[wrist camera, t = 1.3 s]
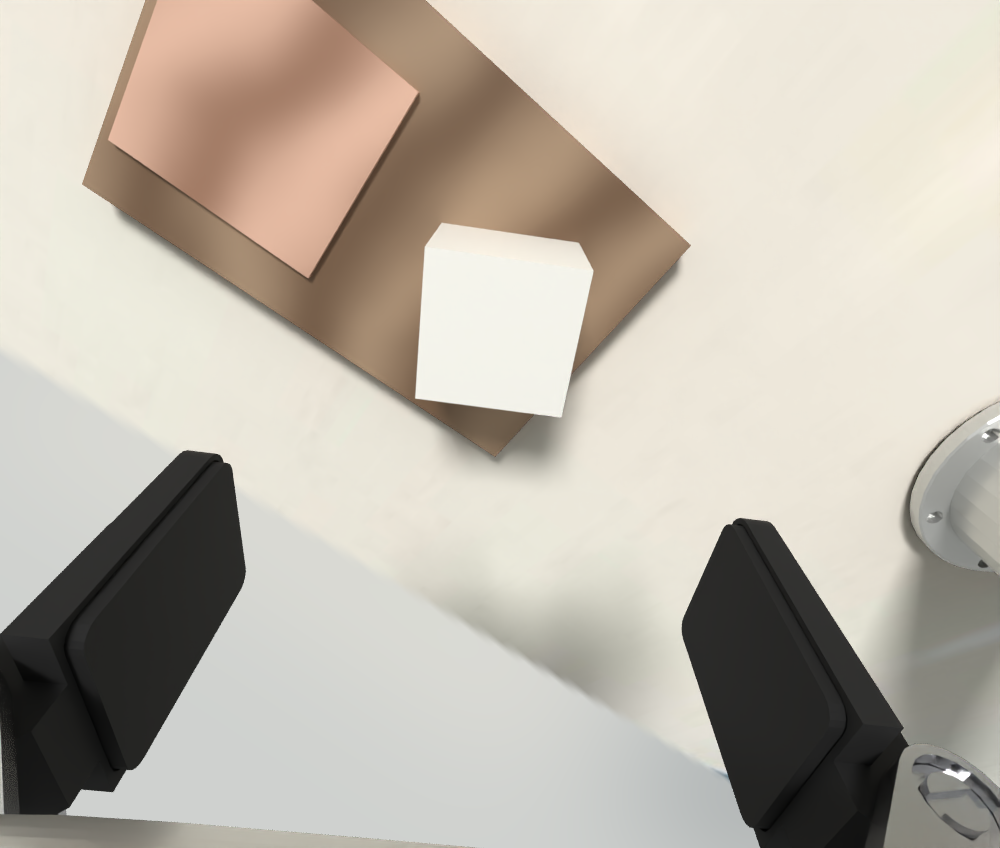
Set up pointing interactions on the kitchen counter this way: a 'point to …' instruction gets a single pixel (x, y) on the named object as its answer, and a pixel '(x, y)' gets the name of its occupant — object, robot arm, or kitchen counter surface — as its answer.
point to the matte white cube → (500, 319)
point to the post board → (356, 171)
